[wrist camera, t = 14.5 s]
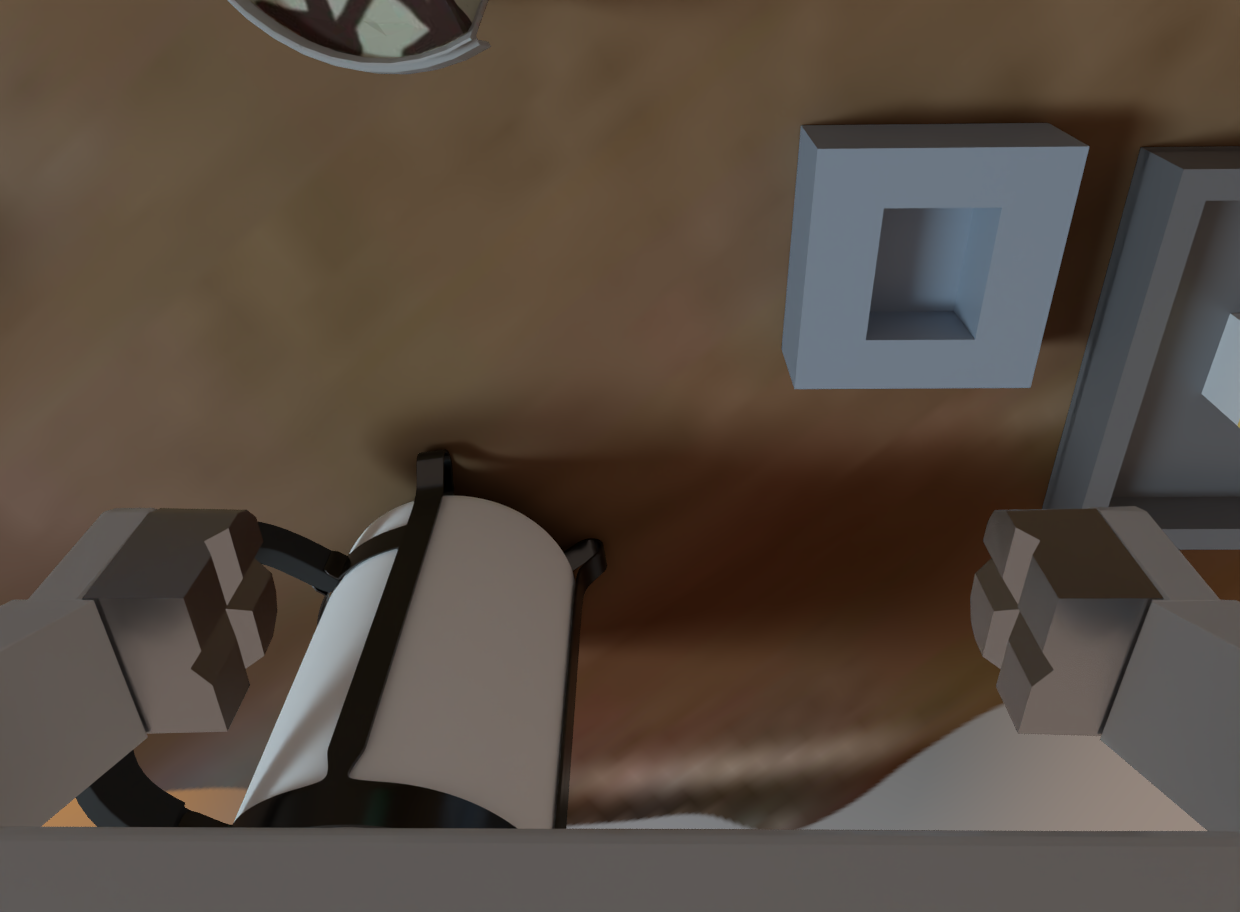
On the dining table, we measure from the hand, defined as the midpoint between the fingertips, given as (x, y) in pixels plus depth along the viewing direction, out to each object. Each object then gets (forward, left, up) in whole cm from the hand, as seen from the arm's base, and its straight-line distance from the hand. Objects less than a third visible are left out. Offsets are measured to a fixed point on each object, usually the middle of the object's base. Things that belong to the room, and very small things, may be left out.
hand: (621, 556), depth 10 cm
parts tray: (+12, +28, -31) cm, 44 cm away
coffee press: (+24, -10, -31) cm, 41 cm away
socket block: (+7, +12, -31) cm, 34 cm away
